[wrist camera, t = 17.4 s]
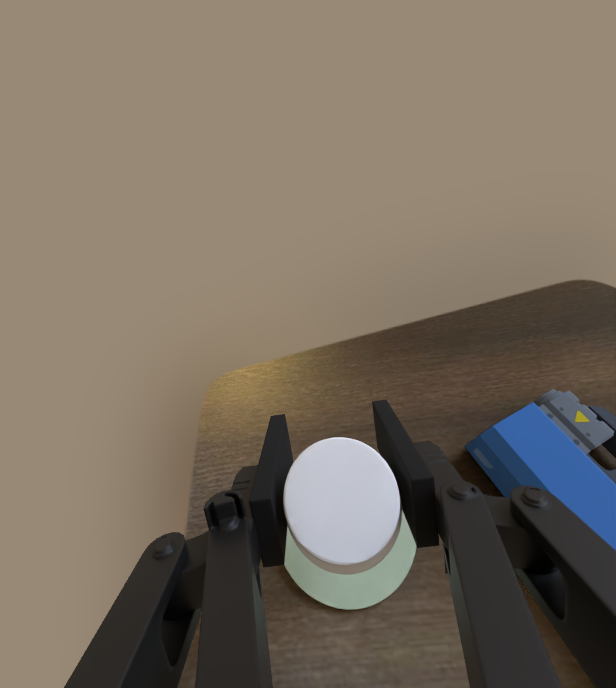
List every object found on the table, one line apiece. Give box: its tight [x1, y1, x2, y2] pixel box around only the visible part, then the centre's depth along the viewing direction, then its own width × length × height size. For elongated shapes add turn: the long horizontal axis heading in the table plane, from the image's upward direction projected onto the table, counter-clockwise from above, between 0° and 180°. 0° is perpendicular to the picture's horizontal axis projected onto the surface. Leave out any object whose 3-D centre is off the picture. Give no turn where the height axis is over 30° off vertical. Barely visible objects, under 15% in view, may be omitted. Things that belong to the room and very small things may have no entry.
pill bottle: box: [283, 437, 402, 575], centre depth 14 cm, size 5×5×8 cm
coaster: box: [284, 510, 416, 610], centre depth 23 cm, size 10×10×1 cm
